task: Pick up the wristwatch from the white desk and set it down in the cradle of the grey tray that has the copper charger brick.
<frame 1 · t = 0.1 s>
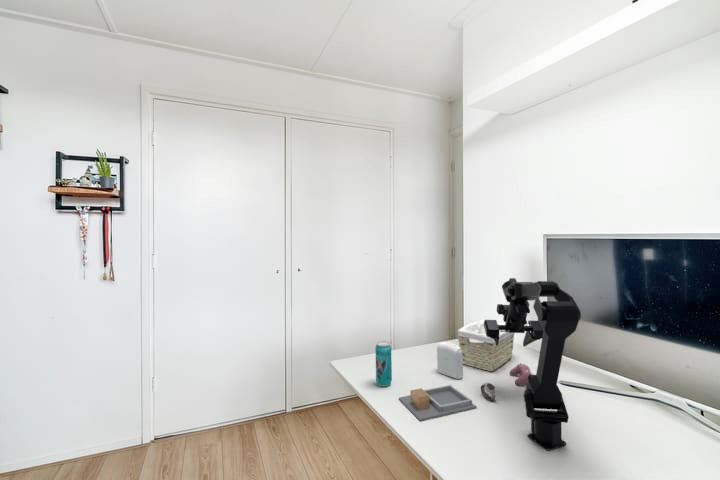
hand: (510, 345, 118), 15 cm above the table, tool tilted 30°, fingers open, 9 cm apart
wristwatch: (488, 398, 110), on the table
grey tray: (436, 403, 107), on the table
storage basket: (487, 361, 142), on the table
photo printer: (450, 375, 129), on the table
beverage can: (383, 384, 122), on the table
video game controller: (520, 381, 123), on the table
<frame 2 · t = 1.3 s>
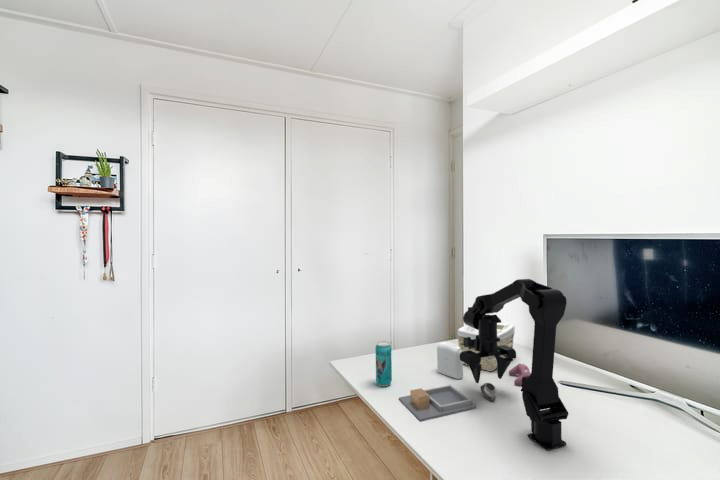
hand: (488, 380, 110), 6 cm above the table, tool pointing down, fingers open, 9 cm apart
nothing on the table moved.
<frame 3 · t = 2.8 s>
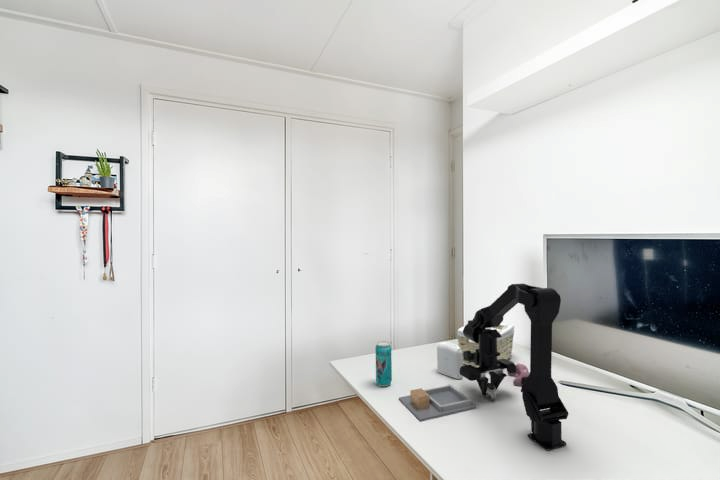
hand: (488, 394, 110), 1 cm above the table, tool pointing down, fingers closed on wristwatch, 3 cm apart
wristwatch: (488, 398, 110), on the table, touching gripper
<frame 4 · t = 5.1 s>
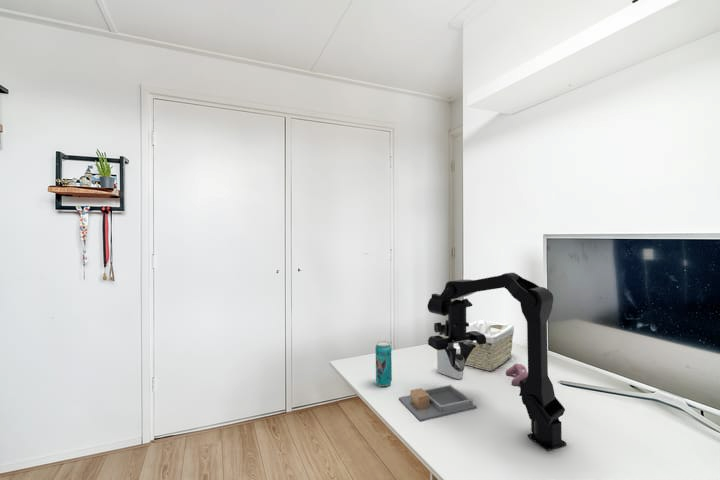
hand: (457, 366, 109), 11 cm above the table, tool pointing down, fingers closed on wristwatch, 3 cm apart
wristwatch: (457, 369, 109), point 10 cm above the table, touching gripper
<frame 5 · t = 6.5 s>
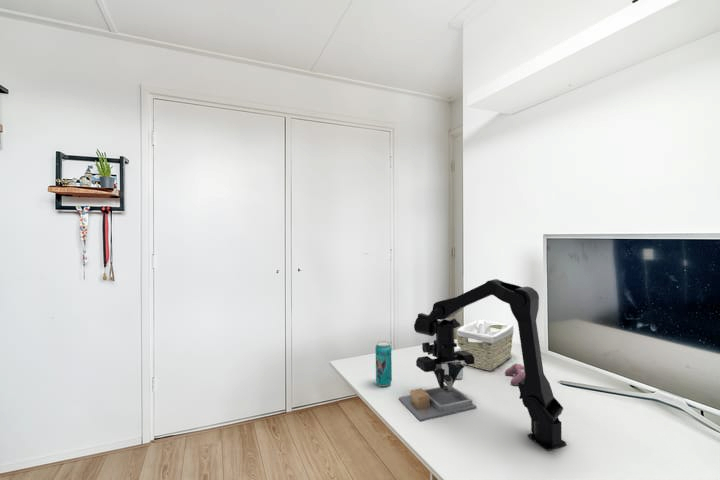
hand: (445, 386, 108), 5 cm above the table, tool pointing down, fingers closed on wristwatch, 3 cm apart
wristwatch: (445, 390, 108), point 4 cm above the table, touching gripper
when the fingers open (3 cm above the table, at t = 7.5 s): wristwatch drops 1 cm, resting on grey tray.
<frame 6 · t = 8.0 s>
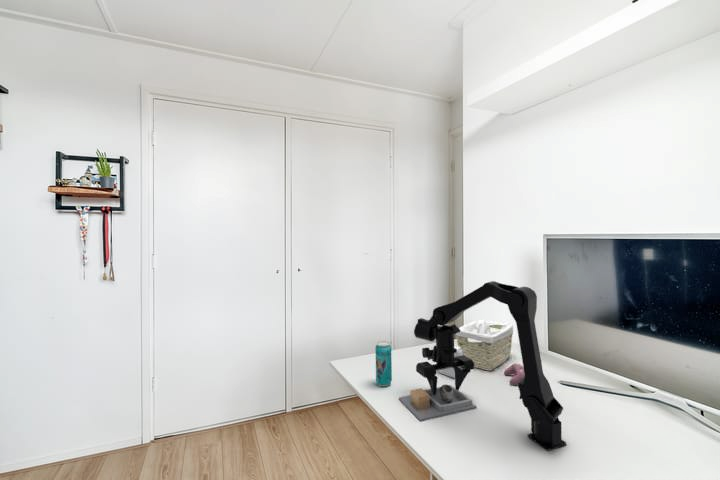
hand: (445, 392, 108), 3 cm above the table, tool pointing down, fingers open, 8 cm apart
wristwatch: (446, 400, 108), resting on grey tray
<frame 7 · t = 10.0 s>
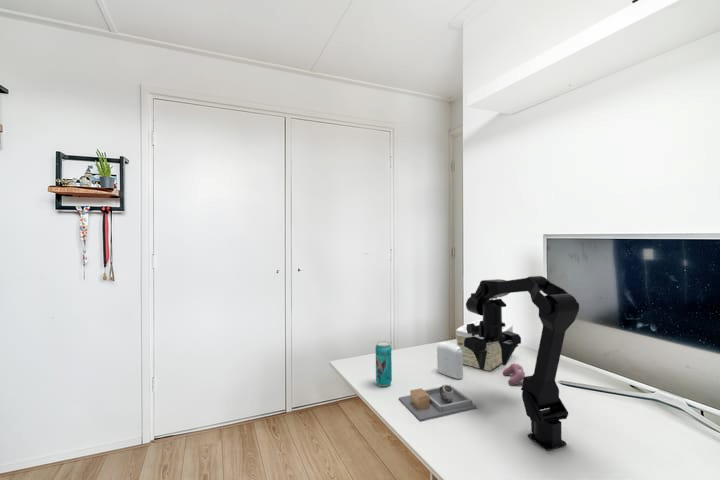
hand: (493, 367, 107), 11 cm above the table, tool pointing down, fingers open, 9 cm apart
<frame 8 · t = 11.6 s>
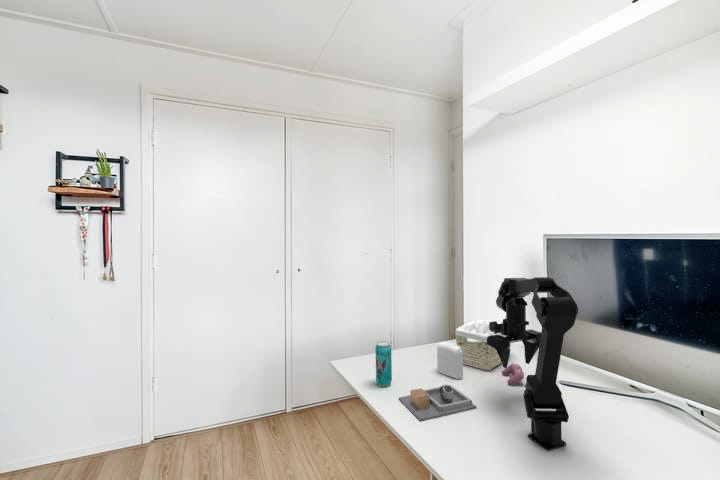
hand: (516, 365, 107), 12 cm above the table, tool pointing down, fingers open, 9 cm apart
at the end: wristwatch inside the target area on the grey tray (0.2 cm from its centre), point 0.4 cm above the grey tray's base; wristwatch touching grey tray; the gripper is holding nothing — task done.
